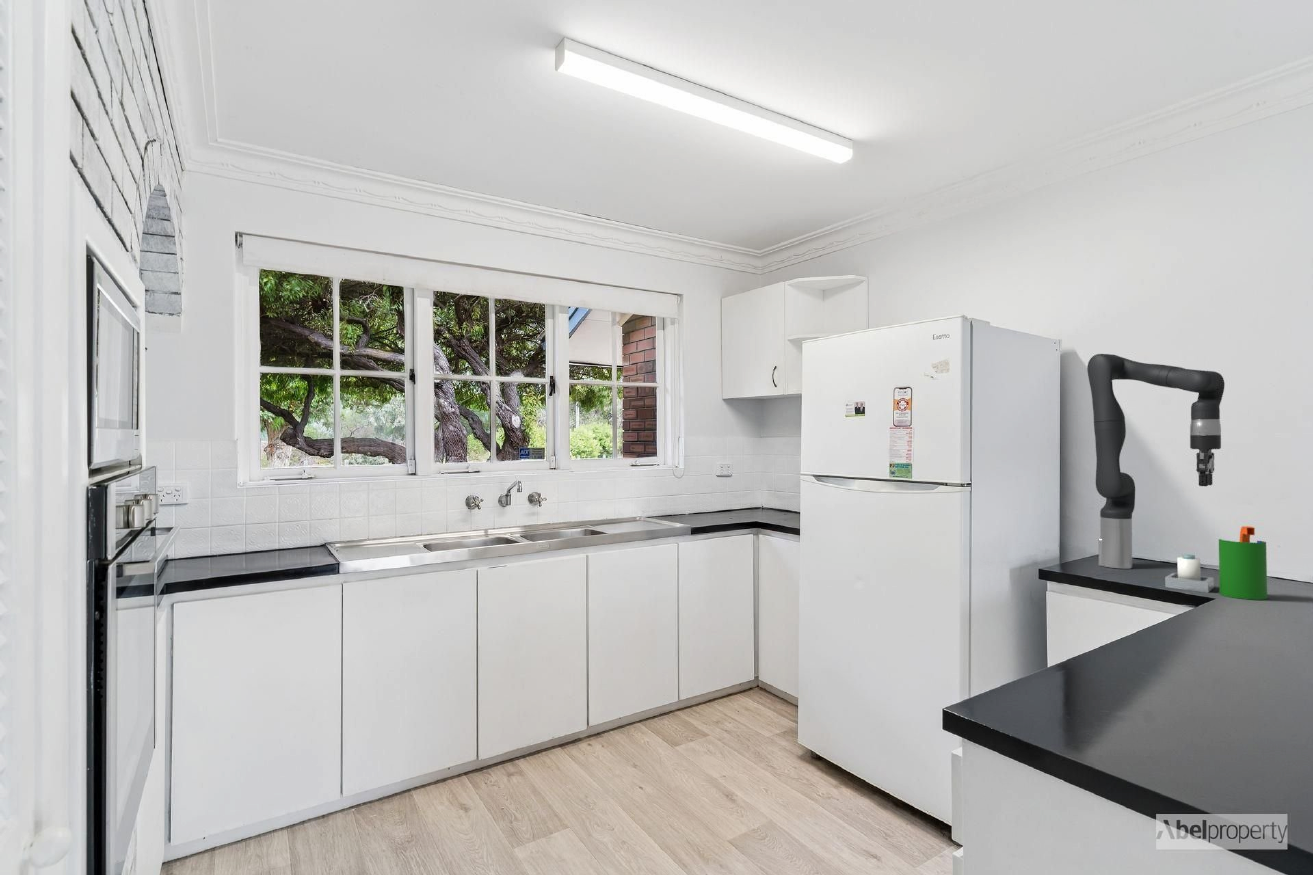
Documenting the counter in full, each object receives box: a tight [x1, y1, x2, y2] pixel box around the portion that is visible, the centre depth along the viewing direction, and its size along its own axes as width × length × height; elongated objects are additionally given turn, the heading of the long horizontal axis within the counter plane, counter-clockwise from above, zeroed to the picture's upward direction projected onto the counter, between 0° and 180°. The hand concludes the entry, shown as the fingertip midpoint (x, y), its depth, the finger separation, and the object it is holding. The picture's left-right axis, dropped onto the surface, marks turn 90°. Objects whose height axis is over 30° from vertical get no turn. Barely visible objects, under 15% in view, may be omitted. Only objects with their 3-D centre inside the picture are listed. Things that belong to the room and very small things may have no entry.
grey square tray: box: [1164, 572, 1215, 593], centre depth 201 cm, size 10×10×3 cm
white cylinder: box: [1176, 553, 1202, 581], centre depth 201 cm, size 5×5×9 cm
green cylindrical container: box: [1218, 525, 1268, 601], centre depth 189 cm, size 10×9×20 cm
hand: (1205, 485), depth 210 cm, fingers open, 8 cm apart
